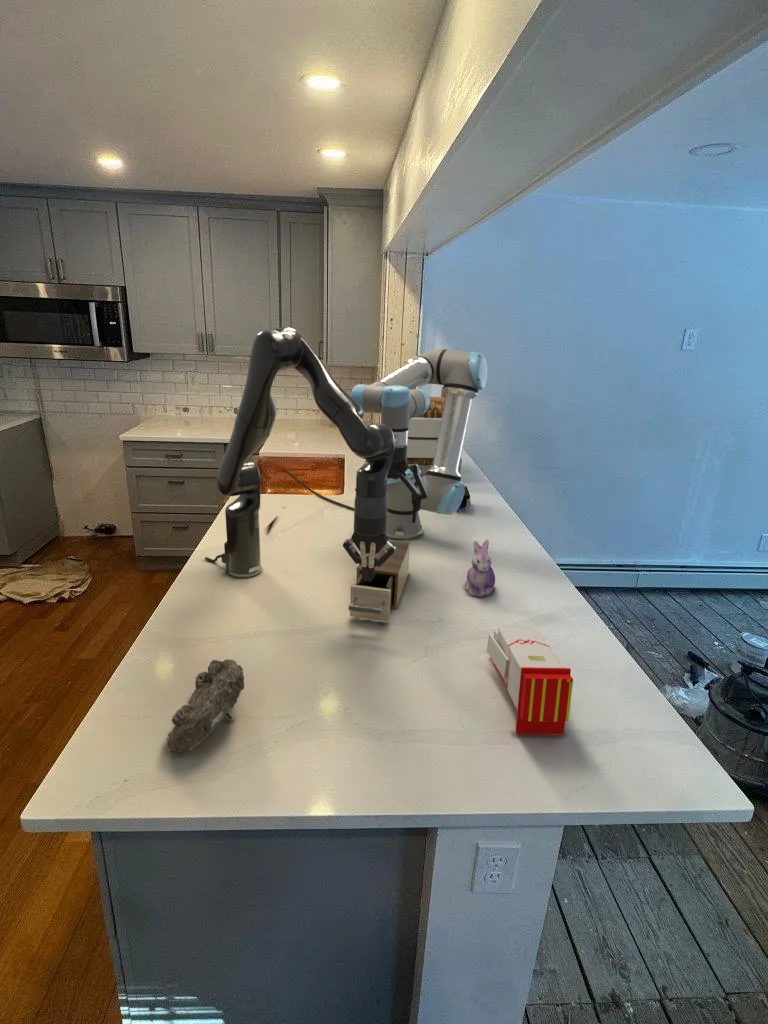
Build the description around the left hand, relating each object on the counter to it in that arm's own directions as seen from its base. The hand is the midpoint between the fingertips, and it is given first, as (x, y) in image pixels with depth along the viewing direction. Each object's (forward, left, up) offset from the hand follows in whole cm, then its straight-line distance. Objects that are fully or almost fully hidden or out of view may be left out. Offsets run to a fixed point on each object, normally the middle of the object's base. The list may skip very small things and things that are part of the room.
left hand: (368, 579), depth 135 cm
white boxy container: (-4, +145, -14) cm, 146 cm away
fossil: (-22, -38, -14) cm, 46 cm away
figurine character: (+18, +99, -14) cm, 102 cm away
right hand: (0, +28, +5) cm, 29 cm away
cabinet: (0, +23, -14) cm, 26 cm away
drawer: (0, +11, -13) cm, 16 cm away
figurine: (+27, +28, -14) cm, 42 cm away
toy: (+37, -16, -14) cm, 42 cm away
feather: (-47, +65, -14) cm, 81 cm away
